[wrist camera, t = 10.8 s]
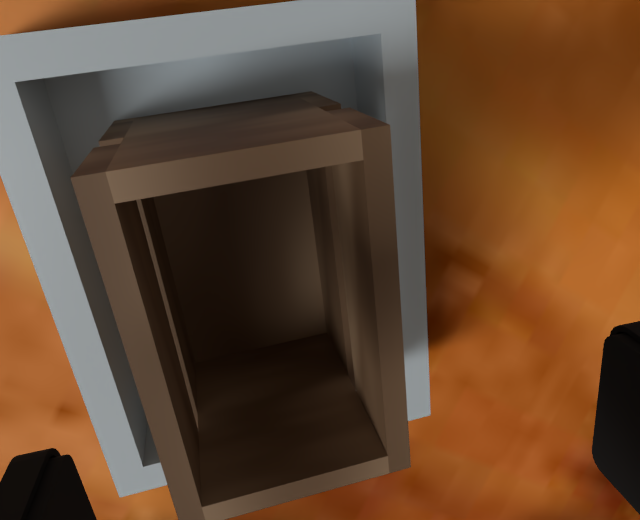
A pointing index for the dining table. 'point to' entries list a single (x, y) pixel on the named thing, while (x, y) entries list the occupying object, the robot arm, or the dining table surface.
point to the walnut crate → (255, 295)
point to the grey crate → (177, 95)
